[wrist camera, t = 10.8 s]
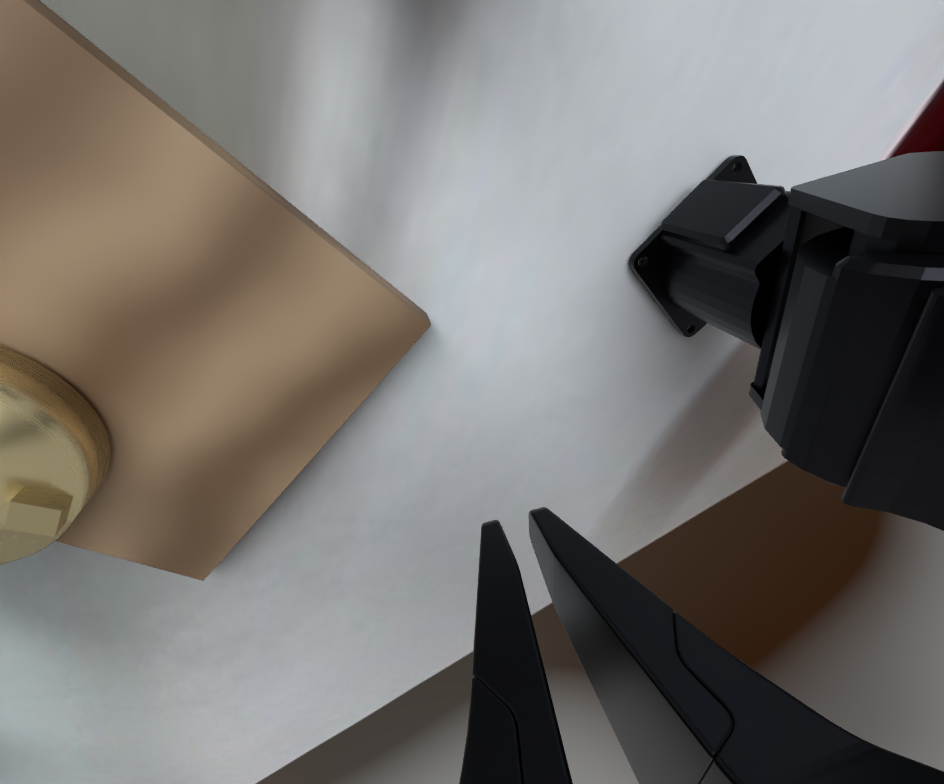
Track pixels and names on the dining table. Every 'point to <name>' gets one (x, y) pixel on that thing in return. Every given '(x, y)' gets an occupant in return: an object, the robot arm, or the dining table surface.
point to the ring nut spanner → (44, 455)
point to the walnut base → (172, 301)
